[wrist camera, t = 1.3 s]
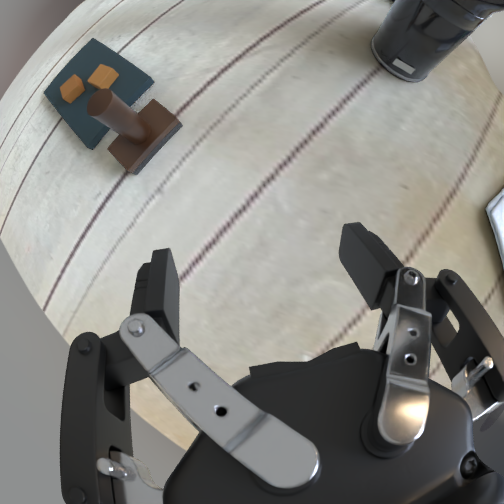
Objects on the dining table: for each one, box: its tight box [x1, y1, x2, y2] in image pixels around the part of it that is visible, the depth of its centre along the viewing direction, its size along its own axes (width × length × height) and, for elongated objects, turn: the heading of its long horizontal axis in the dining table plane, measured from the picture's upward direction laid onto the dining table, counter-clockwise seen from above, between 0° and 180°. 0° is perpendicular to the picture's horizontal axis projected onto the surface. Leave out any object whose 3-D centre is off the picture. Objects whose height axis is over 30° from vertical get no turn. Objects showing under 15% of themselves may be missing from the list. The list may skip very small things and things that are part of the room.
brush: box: [87, 88, 183, 175], centre depth 23 cm, size 8×4×12 cm, turn 136°
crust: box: [60, 74, 85, 104], centre depth 26 cm, size 3×3×2 cm
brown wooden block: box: [88, 64, 119, 89], centre depth 26 cm, size 3×3×2 cm
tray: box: [44, 38, 154, 150], centre depth 28 cm, size 12×18×2 cm, turn 46°
